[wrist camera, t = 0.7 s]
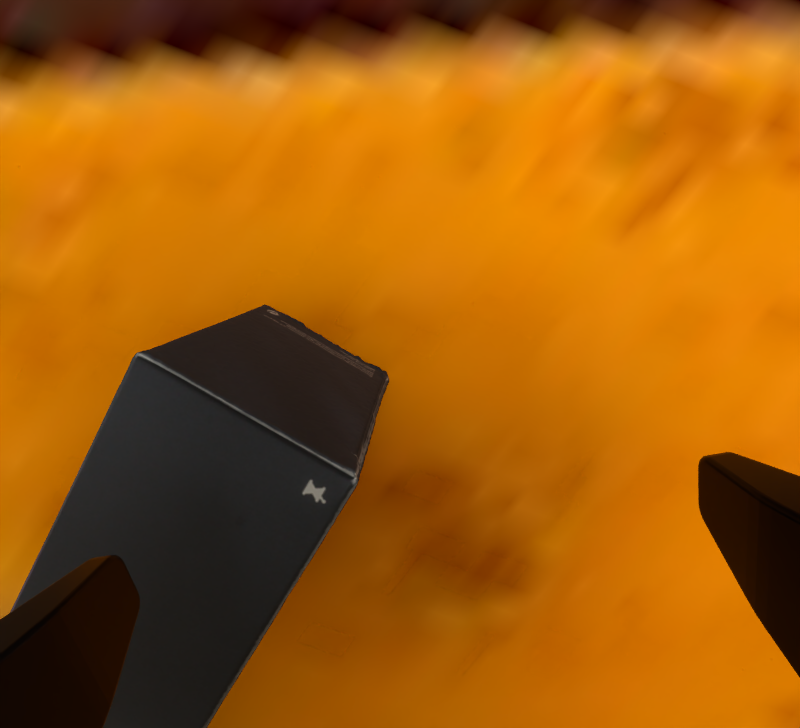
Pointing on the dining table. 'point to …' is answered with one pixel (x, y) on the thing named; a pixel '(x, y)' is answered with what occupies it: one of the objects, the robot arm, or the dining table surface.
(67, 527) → the small box
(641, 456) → the dining table surface
